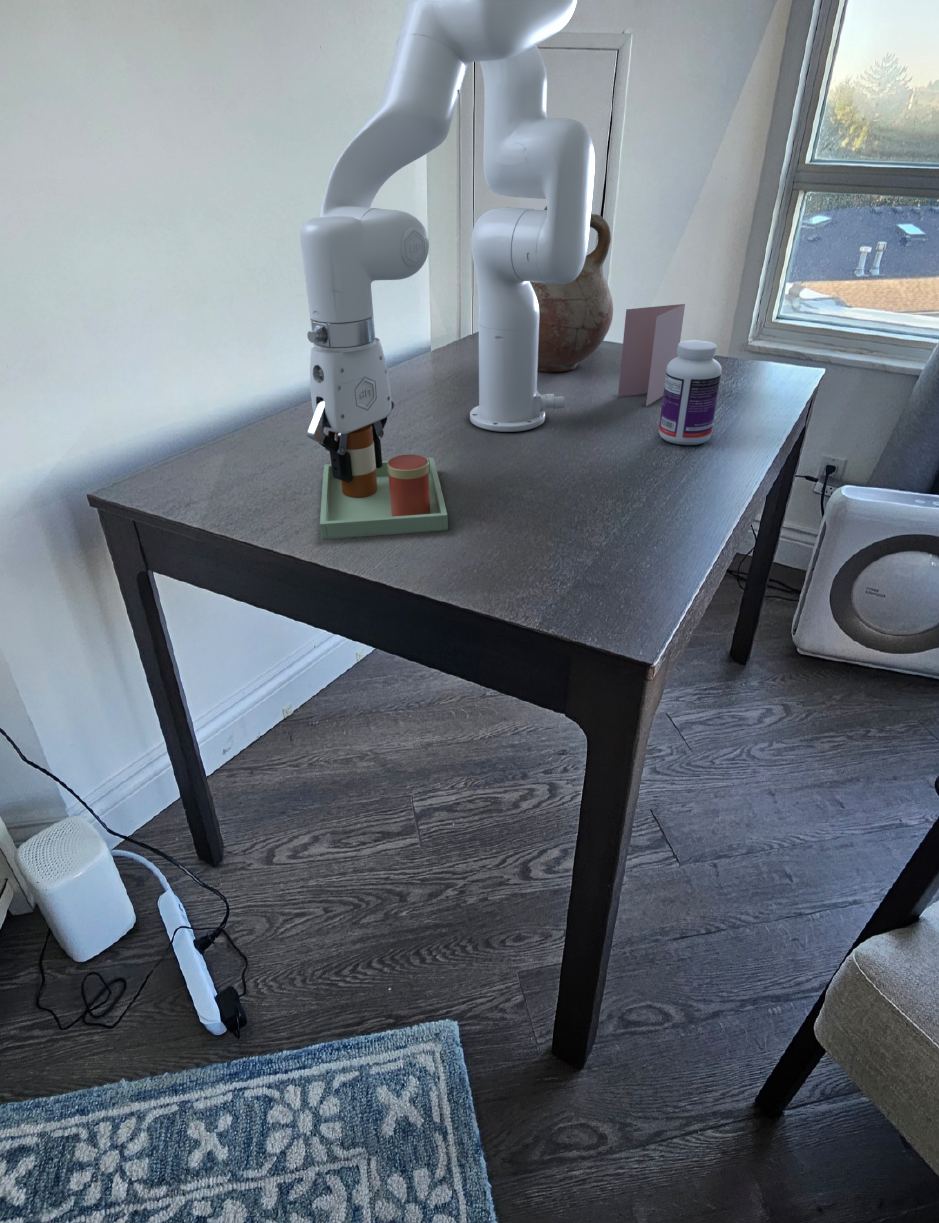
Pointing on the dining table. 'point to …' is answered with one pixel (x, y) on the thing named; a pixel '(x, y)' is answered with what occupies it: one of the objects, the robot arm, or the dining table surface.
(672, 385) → the pill bottle
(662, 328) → the greeting card
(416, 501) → the tea tin
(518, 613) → the dining table surface
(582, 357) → the jug
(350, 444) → the spice bottle
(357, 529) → the tray
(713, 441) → the dining table surface
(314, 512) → the dining table surface
